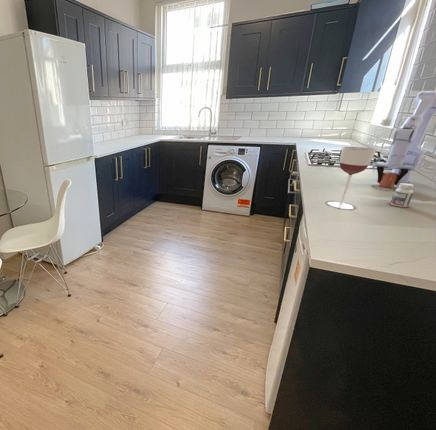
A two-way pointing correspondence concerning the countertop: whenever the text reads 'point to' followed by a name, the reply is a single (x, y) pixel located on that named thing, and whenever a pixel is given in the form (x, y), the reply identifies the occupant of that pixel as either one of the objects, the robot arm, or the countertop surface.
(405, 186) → the pill bottle
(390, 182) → the mug
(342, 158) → the wineglass
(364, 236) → the countertop surface
